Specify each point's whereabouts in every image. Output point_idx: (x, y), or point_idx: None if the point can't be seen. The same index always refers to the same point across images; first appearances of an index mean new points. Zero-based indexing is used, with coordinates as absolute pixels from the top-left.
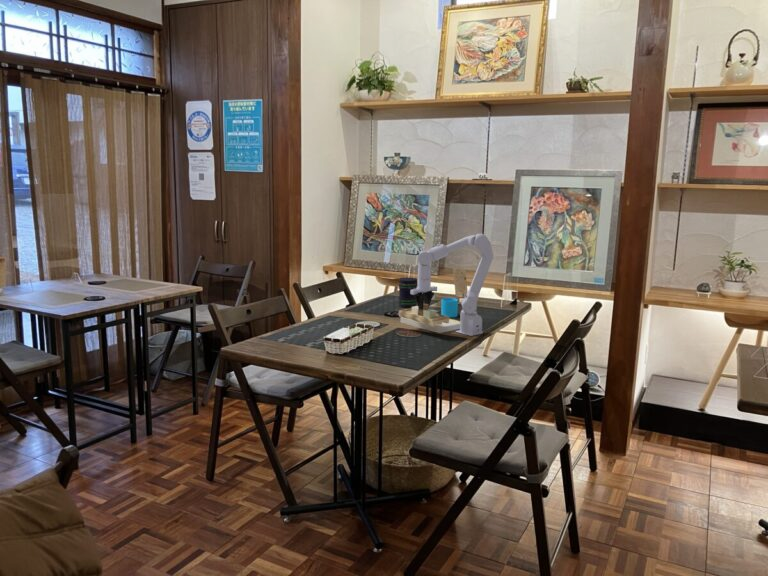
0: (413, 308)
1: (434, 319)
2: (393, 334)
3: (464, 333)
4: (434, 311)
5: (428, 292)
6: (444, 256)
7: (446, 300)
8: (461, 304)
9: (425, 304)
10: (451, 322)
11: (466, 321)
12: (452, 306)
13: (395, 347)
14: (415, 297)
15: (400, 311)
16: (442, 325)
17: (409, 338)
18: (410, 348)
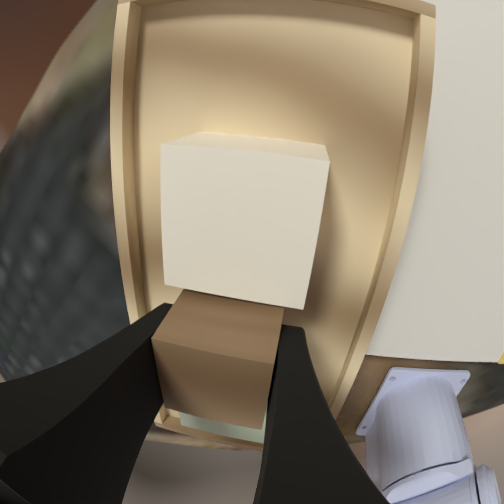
0: (168, 186)
1: (171, 429)
2: (77, 143)
3: (367, 412)
4: (246, 435)
5: None
6: None
7: None
8: (478, 489)
9: (221, 408)
10: (487, 318)
11: (379, 464)
12: None
13: (15, 299)
14: (13, 392)
15: (119, 23)
16: (381, 328)
17: (98, 265)
18: (48, 342)
